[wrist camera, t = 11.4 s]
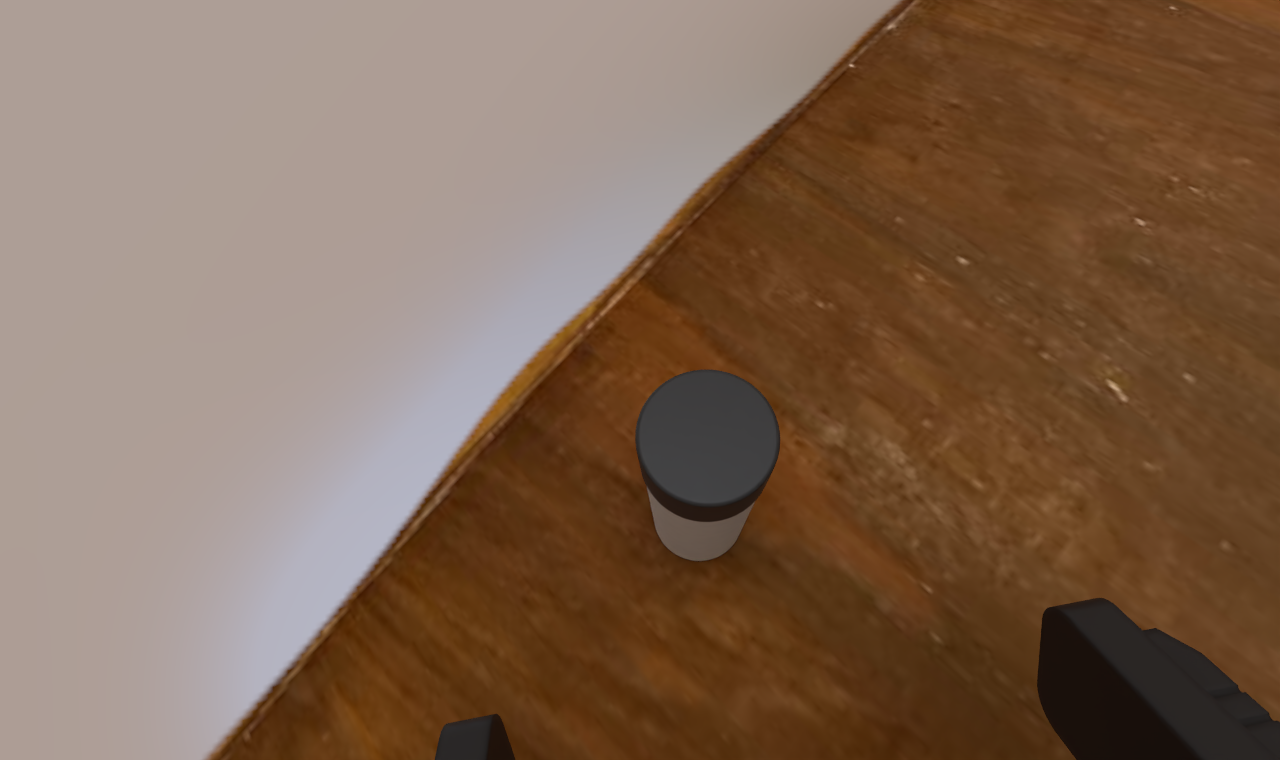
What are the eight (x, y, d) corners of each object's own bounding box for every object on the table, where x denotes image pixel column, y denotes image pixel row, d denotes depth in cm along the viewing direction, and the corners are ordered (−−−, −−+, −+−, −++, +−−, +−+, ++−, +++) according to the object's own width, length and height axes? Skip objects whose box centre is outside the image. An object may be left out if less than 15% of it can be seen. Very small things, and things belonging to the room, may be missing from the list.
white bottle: (669, 575, 20) (661, 526, 12) (640, 487, 21) (617, 391, 13) (757, 546, 20) (803, 480, 12) (725, 459, 21) (749, 350, 13)
